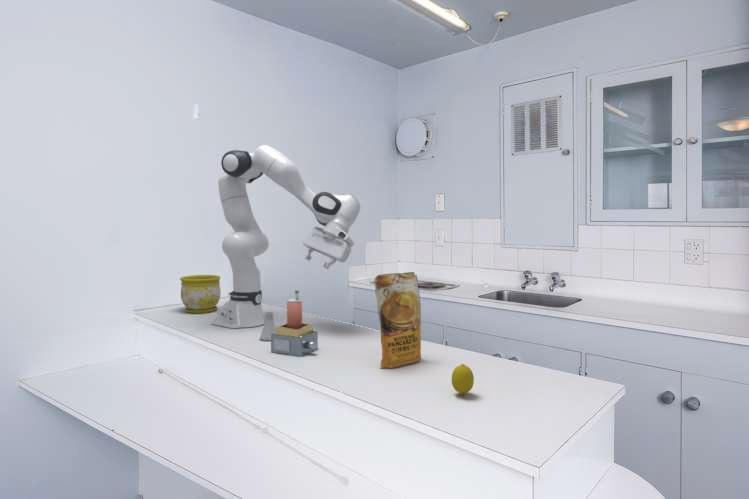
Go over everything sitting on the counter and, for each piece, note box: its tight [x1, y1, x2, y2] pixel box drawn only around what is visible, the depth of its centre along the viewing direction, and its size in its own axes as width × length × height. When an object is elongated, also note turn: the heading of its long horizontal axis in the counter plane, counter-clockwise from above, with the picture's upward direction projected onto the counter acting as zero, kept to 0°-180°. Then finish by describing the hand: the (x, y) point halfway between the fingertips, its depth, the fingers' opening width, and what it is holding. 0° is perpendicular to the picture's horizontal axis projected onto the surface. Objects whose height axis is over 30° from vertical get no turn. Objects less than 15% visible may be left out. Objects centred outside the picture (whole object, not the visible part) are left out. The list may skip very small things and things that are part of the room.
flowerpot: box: [179, 274, 221, 315], centre depth 224 cm, size 18×18×16 cm
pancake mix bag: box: [374, 271, 422, 369], centre depth 145 cm, size 7×19×28 cm, turn 127°
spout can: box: [286, 289, 303, 329], centre depth 158 cm, size 5×5×14 cm
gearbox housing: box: [270, 322, 319, 357], centre depth 158 cm, size 15×10×8 cm
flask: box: [258, 311, 276, 342], centre depth 173 cm, size 7×7×10 cm
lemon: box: [451, 363, 475, 396], centre depth 119 cm, size 6×6×8 cm
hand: (316, 263), depth 179 cm, fingers open, 8 cm apart
